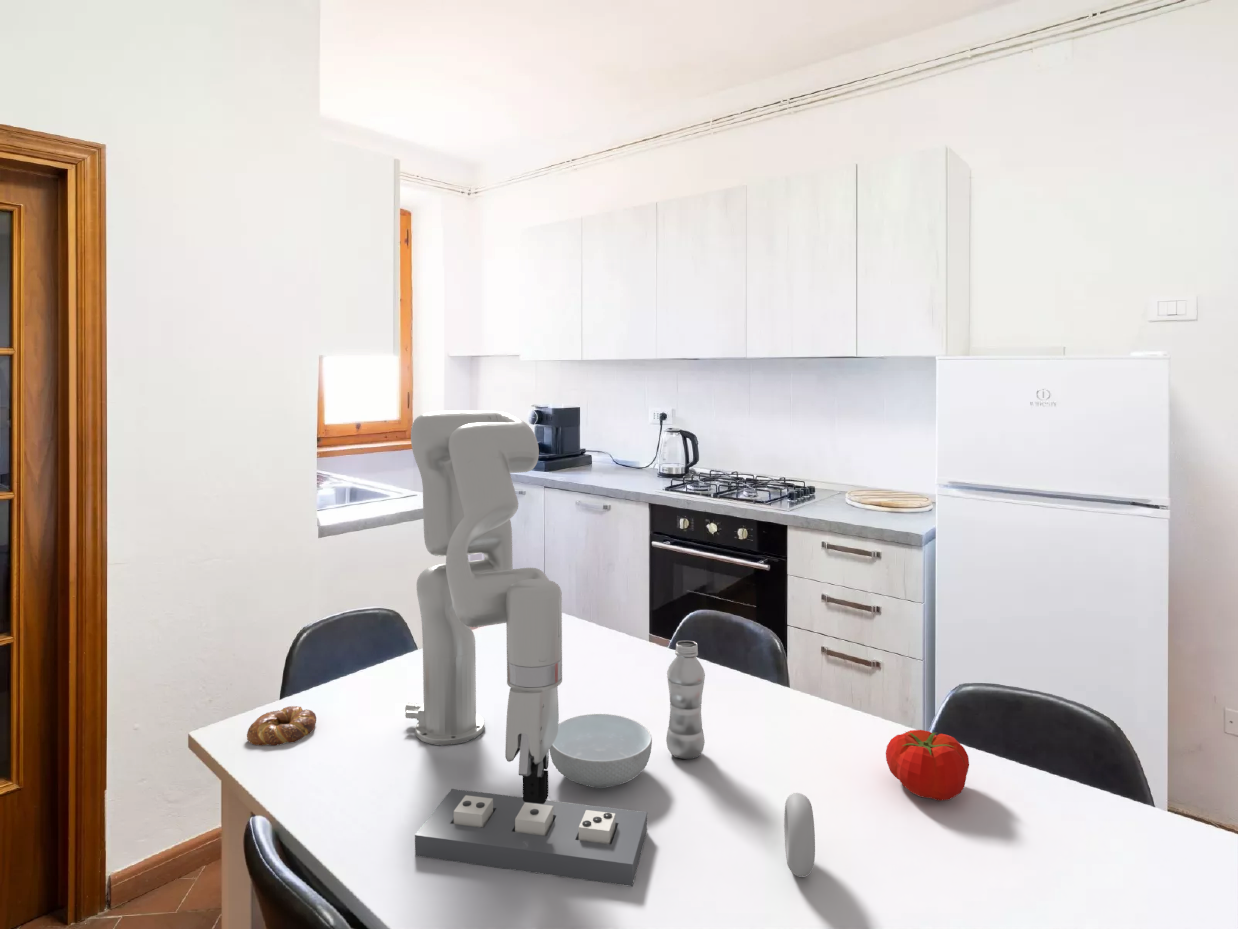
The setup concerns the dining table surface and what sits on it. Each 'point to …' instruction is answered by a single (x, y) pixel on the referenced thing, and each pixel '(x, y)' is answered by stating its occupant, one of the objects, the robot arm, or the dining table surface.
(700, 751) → the plastic bottle
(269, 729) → the pretzel
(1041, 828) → the dining table surface
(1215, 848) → the dining table surface
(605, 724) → the cereal bowl
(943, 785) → the tomato
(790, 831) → the donut
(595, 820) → the button three dots
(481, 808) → the button two dots
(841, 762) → the dining table surface
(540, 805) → the button one dot
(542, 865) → the button panel
